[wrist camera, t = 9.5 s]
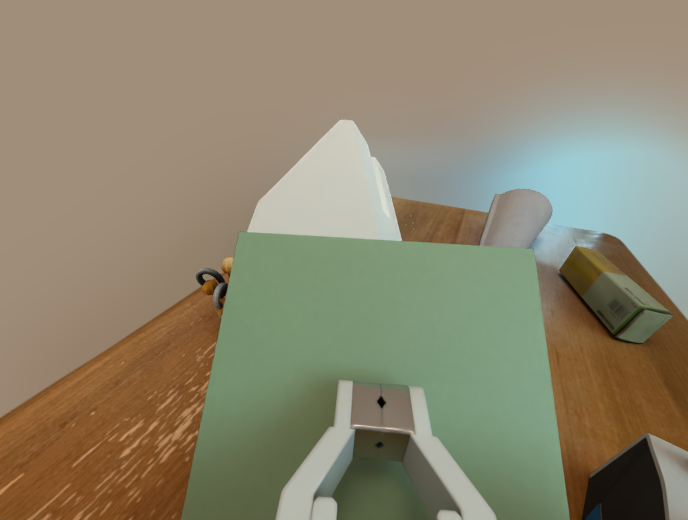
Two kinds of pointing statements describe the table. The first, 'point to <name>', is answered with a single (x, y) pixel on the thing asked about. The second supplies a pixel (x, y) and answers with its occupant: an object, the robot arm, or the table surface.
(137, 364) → the table surface
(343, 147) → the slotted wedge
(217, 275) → the black and orange candelabra
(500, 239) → the grey tapered piece
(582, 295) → the medication box
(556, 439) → the cover
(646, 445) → the padlock
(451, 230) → the table surface
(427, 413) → the robot arm
